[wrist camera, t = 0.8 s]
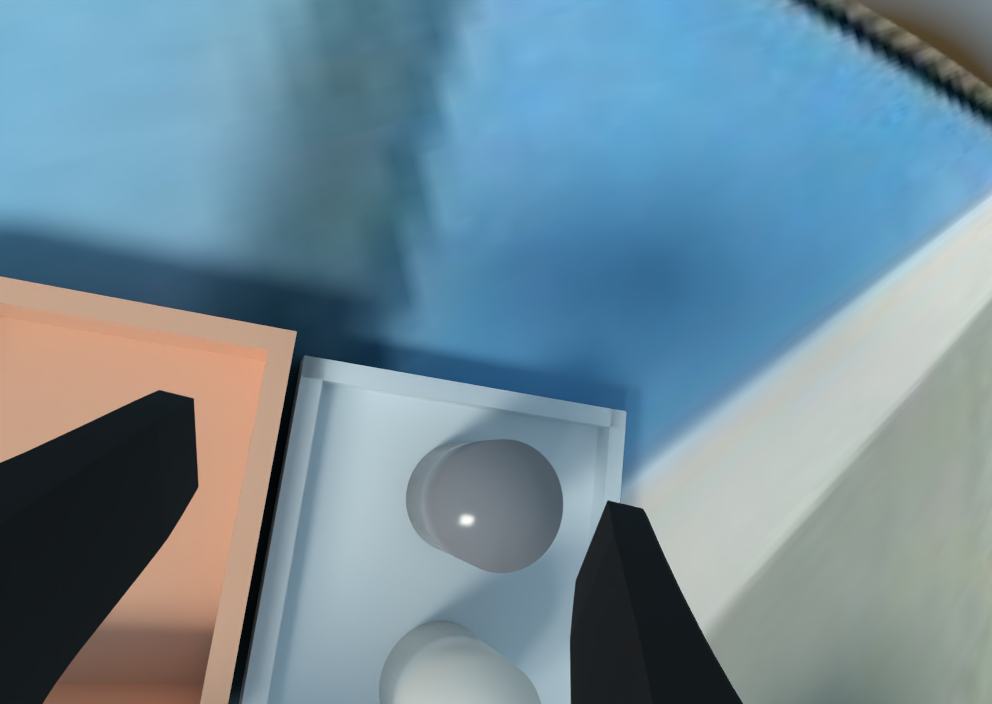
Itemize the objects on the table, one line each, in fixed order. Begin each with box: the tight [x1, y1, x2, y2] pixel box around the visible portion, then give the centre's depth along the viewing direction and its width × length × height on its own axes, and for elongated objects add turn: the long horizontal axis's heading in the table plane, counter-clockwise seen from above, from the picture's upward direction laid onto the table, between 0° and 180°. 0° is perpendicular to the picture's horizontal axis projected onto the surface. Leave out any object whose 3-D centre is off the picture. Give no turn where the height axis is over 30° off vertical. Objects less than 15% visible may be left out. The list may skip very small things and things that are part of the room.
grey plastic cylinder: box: [406, 439, 563, 573], centre depth 24 cm, size 4×4×5 cm
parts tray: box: [239, 355, 627, 704], centre depth 25 cm, size 16×14×2 cm
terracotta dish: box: [0, 276, 297, 704], centre depth 20 cm, size 13×13×4 cm
